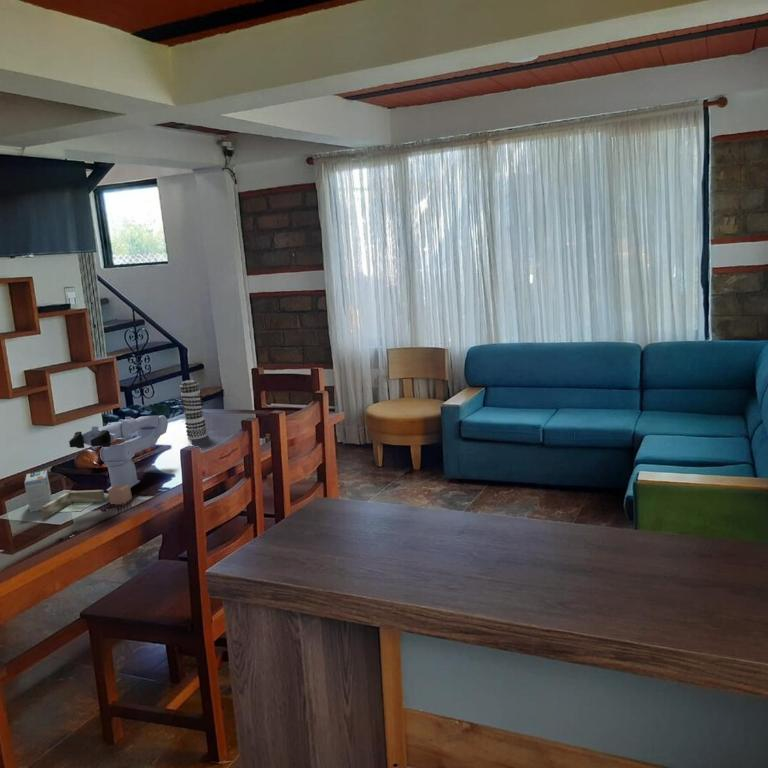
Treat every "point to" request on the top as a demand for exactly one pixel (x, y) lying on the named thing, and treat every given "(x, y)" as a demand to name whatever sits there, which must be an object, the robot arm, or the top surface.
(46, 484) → the light bulb box
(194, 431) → the decorative candle
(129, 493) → the cube
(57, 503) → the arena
